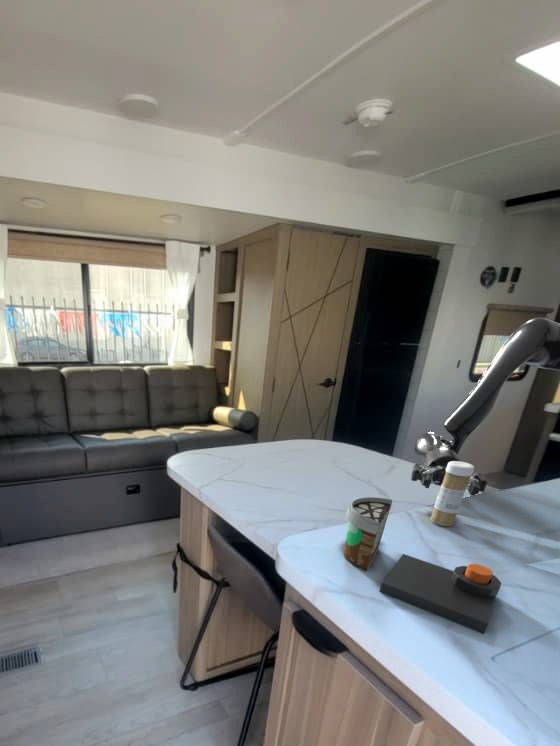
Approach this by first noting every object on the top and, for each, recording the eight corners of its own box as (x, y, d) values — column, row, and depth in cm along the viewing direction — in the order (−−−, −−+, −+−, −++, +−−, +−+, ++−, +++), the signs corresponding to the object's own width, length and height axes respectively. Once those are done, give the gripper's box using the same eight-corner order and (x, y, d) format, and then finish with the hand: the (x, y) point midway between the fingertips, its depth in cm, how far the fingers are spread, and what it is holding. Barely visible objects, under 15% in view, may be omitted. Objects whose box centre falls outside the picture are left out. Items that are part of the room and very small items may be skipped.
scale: (494, 594, 65) (503, 576, 64) (484, 634, 56) (493, 615, 55) (400, 561, 73) (406, 544, 72) (379, 592, 65) (384, 574, 63)
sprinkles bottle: (452, 521, 89) (473, 462, 83) (453, 529, 85) (476, 469, 80) (428, 516, 91) (447, 458, 85) (429, 524, 87) (449, 464, 81)
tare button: (489, 578, 64) (494, 569, 63) (487, 587, 61) (491, 577, 61) (466, 570, 65) (469, 561, 65) (462, 578, 63) (466, 569, 62)
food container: (346, 536, 81) (357, 490, 77) (379, 546, 78) (393, 499, 74) (328, 563, 72) (339, 512, 68) (364, 575, 69) (379, 523, 64)
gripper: (414, 447, 101) (418, 465, 88) (482, 456, 96) (497, 477, 82) (406, 475, 104) (409, 497, 91) (471, 485, 99) (484, 510, 85)
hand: (451, 487), depth 87 cm, fingers open, 8 cm apart
